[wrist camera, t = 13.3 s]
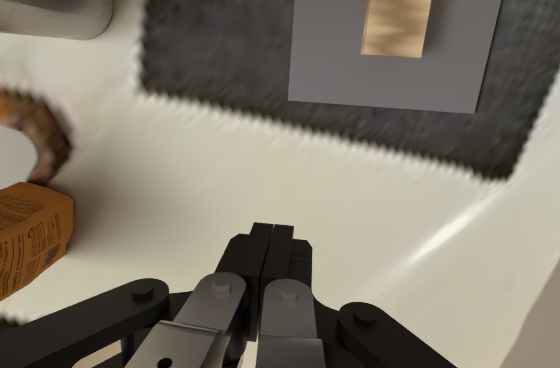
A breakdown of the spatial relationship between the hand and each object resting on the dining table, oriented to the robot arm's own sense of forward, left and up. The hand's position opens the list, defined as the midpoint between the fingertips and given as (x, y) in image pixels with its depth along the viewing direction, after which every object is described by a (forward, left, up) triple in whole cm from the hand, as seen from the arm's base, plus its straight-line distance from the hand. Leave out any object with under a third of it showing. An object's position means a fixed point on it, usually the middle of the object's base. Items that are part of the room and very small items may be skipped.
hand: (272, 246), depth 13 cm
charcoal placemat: (+9, +12, -33) cm, 36 cm away
